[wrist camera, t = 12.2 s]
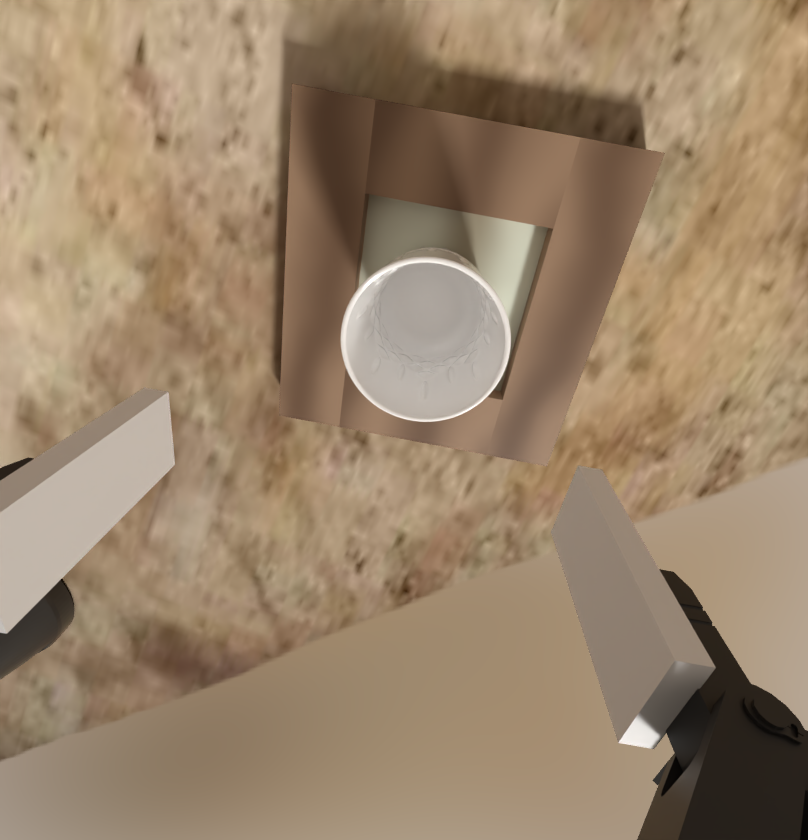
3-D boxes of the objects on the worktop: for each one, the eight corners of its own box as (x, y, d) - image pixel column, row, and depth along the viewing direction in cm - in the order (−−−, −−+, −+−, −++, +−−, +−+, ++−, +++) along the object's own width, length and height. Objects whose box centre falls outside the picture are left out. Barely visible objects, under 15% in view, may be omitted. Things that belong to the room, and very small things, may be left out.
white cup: (465, 213, 27) (474, 223, 18) (508, 331, 30) (533, 389, 21) (352, 268, 29) (309, 302, 20) (402, 373, 32) (384, 442, 23)
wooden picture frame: (289, 401, 35) (279, 415, 33) (305, 92, 26) (292, 83, 24) (540, 449, 35) (546, 466, 33) (647, 156, 26) (664, 153, 24)
